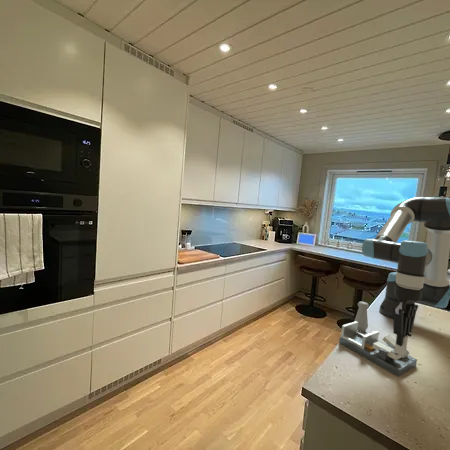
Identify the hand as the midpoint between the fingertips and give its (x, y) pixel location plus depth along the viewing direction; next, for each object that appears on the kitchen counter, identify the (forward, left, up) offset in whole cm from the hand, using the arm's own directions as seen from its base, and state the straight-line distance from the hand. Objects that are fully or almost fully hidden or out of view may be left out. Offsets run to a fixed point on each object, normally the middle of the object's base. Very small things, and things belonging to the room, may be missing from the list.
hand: (399, 353), depth 87 cm
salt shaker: (-17, -23, -7) cm, 30 cm away
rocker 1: (0, -4, -1) cm, 4 cm away
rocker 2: (-7, -4, -1) cm, 8 cm away
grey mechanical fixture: (-3, -9, -6) cm, 12 cm away
